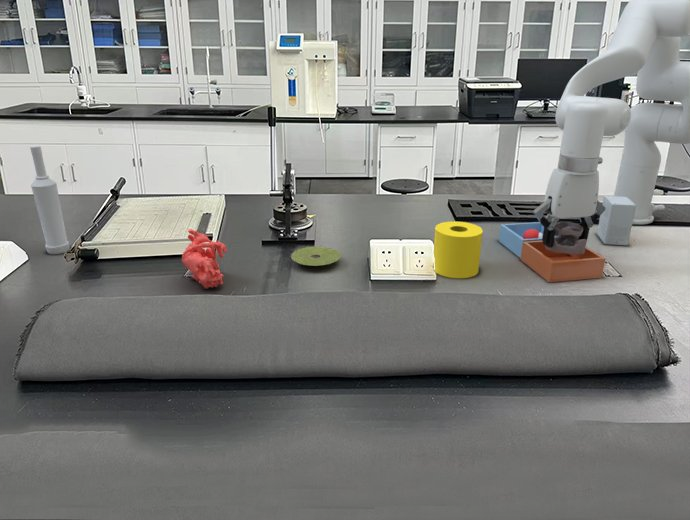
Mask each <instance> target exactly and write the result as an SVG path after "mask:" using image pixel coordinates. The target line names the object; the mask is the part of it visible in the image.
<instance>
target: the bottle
mask: <svg viewBox="0 0 690 520" xmlns="http://www.w3.org/2000/svg"><path fill="white" fill-rule="evenodd" d="M29 149H30V153H31V155H32V161H33V165H34V169H35V174H36V176H35V180H34V181H32V183H31V184H30V187H31V190H32V194H33V198H34V202H35V206H36V210H37V214H38V219H39V221H40V225H41V230H42V233H43V237H44V242H45V245H44V246H45V250H46V252H47V254H49V255H60V254H64V253H67V252H69V251H70V249H71V247H70V241H69V240H68V238H67V237H68V236H67V231H66V227H65V221H64V216H63V211H62V205H61V199H60V196H59V195H60V194H59V191H58V185H57V182H56V181H55V180H53V179H52V178H50V177H49V175H47V171H46V166H45V162H44V158H43V151H42V147H41V145H31V146H30V147H29ZM68 250H69V251H68Z"/></svg>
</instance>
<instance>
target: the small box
mask: <svg viewBox="0 0 690 520" xmlns="http://www.w3.org/2000/svg"><path fill="white" fill-rule="evenodd" d="M601 204H602V205H603V206H604V207H605V208H606V209H605V211H604V212H603V213H602V214H601V215H600V216H599V219H598V220H599V221H598V226H597V231H596V235H597V236H598V238H599V239H600V240H601V242H602V243H603V244H604V245H613V246H629V242H630V237H631V233H632V229H633V224H632V223H633V219H634V214H635V209H636V205H635V204H634V203H633V202H632V201H631V200H630V199H629V198H627V197H621V196H614V195H603V199H602V203H601Z"/></svg>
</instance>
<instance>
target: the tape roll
mask: <svg viewBox="0 0 690 520" xmlns="http://www.w3.org/2000/svg"><path fill="white" fill-rule="evenodd" d="M483 232H484V231H483V228H482V227H480V226H479V225H478V224H474V223H471V222H467V221H444V222H440V223H437V225H435V227H434V241H433V254H434V257H435V266H436V268H435V271H434V272H435V273H436V274H437V275H440V276H442V277H446V278H450V279H467V278H472V277H475V276H477V275H478V274H479V270H480V269H479V267H480V259H481V250H482V240H483Z"/></svg>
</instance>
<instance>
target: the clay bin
mask: <svg viewBox="0 0 690 520" xmlns="http://www.w3.org/2000/svg"><path fill="white" fill-rule="evenodd" d="M545 246H546V245H544V244H543V241H528V242H523V245H522V252H521V258H520V261H521V262H522V263H524V264H525V265H527V266H528V267H529V268H530V269H531V270H533V271H534V272H535V273H536V274H538V275H539V276H540V277H541V278H543V279H544V280H546V281H547V282H548V283H556V282H557V283H558V282H567V281H578V280H580V281H581V280H591V279H601V278H603V273H604V268H605V264H606V260H607V259H606V257H604V256H602V255H601V254H599V253H598V252H596V251H595V250H592V249H591V248H589V247H588V246H586V247H585V253H584V254H577V255H573V254H567V253H559V252H553V251H550V250H548V249H546V248H545Z"/></svg>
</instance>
